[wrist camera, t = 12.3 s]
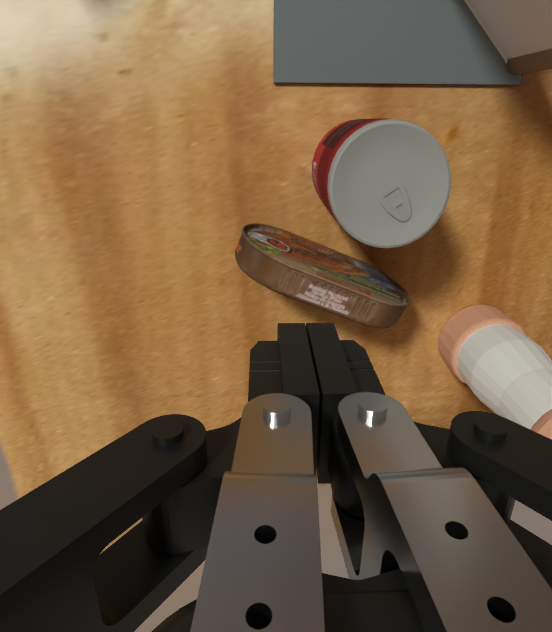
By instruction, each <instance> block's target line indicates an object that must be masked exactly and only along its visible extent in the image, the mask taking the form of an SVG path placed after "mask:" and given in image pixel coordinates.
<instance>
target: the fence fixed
mask: <svg viewBox="0 0 552 632" xmlns="http://www.w3.org/2000/svg"><path fill="white" fill-rule="evenodd" d="M470 1H471V3H472V4H473V5H474V7H475V8H476V10H477V11H478V13H479V14H480V16H481V17H482V19H483V20H484V22H485V23H486V25H487V26H488V28H489V29H490V31H491V32H492V34H493V35H494V37H495V38H496V40H497V41H498V43H499V44H500V46H501V47H502V49H503V50H504V52H505V53H506V55H507V56H508V61H507V63H506V66H507V70H508V71H509V73H511V74H513V75H519V74H525V73H531V72H537V71H542V70H548V69H552V0H470Z"/></svg>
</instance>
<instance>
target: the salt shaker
mask: <svg viewBox="0 0 552 632" xmlns="http://www.w3.org/2000/svg"><path fill="white" fill-rule="evenodd" d="M438 348H439V351H440V354H441V357H442V358H443V360H444V361H445V362H446V364H447V365H448V366H449V367H450V369H451V370H452V371H453V373H454V374H455V375H456V376H457V377H458V379H459V380H460V381H462V382H463V383H465V384H467V385H468V386H469V387H470V389H471V390H472V391H473V393H474V394H475V395H476V396H477V397H478V399H479V400H480V401H481V402H482V403H484V404H485V405H486V406H487V407H488V408H490V409H491V410H492V411H493V412H494V413H496V414H497V415H499V416H502V417H504V418H507V419H509V420H511V421H513V422H515V423H517V424H520V425H522V426H524V427H526V428H528V429H530V430H532V431H535V432H537V433H539V434H541V435H543V436H545V437H547V438H549V439H552V360H551V359H550V358H549V356H548V355H547V354H546V353H545V351H544V350H543V349H542V348H541V347H540V346H539V345H538V344H536V343H535V342H534V341H532V340H531V339H530V338H528V336H527V333H526V332H525V331H524V329H523V328H522V327H521V326H520V325H519V324H518V323H517V322H515V321H514V320H513V319H511V318H510V317H509V316H508V315H506V314H505V313H504V312H502V311H501V310H499V309H497V308H496V307H494V306H488V305H474V306H470V307H467V308H465V309H462V310H460V311H458V312H457V313H456V314H454V315H453V316H452V317H450V318H449V320H448V321H447V322H446V324H445V325H444V326H443V328H442V330H441V333H440V335H439V343H438Z"/></svg>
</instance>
